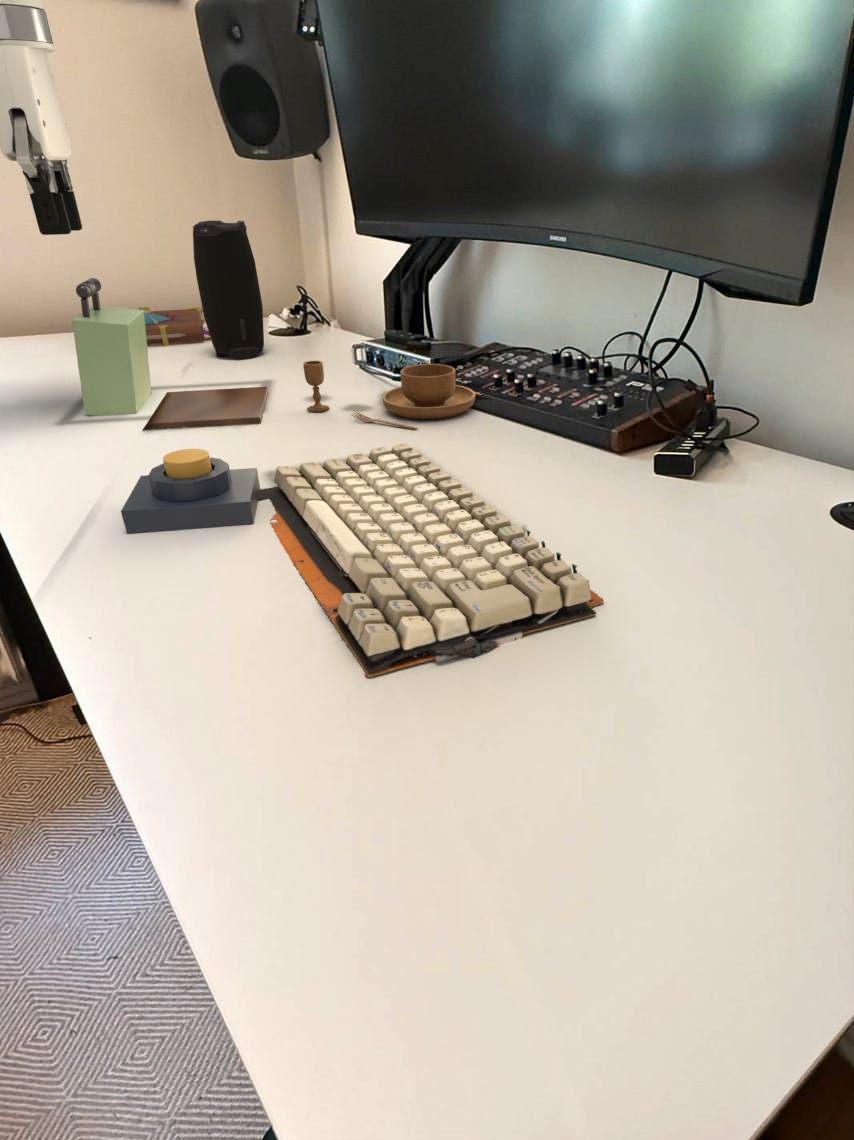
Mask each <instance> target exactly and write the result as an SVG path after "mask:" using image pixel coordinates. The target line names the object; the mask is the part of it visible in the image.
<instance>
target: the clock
mask: <svg viewBox="0 0 854 1140" xmlns="http://www.w3.org/2000/svg"><path fill="white" fill-rule="evenodd" d="M101 290H102V283H101V282H100V281H99V280H98V278H96V277H90V278H88V279H86V280H85V281H82V282H81V283H79V284H77V285H76V287H75V293H76V295H77V296H78V297H79V298H80V305H81V313H80V314H79V315H78V316H76V317H74V318H73V319H72V320H71V323H72V329H73V338H74V345H75V351H76V352H75V353H76V359H77V360H76V361H77V368H78V374H79V381H80V389H81V395H82V402H83V410H84V415H85V416H92V417H93V416H95V417H105V416H106V417H107V416H124V415H137V414H138V413H139V411H140V410H141V409H142V407H143V406H144V405H145V403H146V402H147V400H148V399H149V397H150V396H151V395H152V383H151V374H150V372H151V371H150V363H149V362H150V360H149V352H148V344H147V339H146V329H145V318H144V310H138V309H137V308H136V309H137V310H136V309H134V308H123V307H113V306H102V305H101V303H100V295H99V292H100V291H101ZM89 298H91V303H92V306H91V307H90V303H89Z"/></svg>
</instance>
